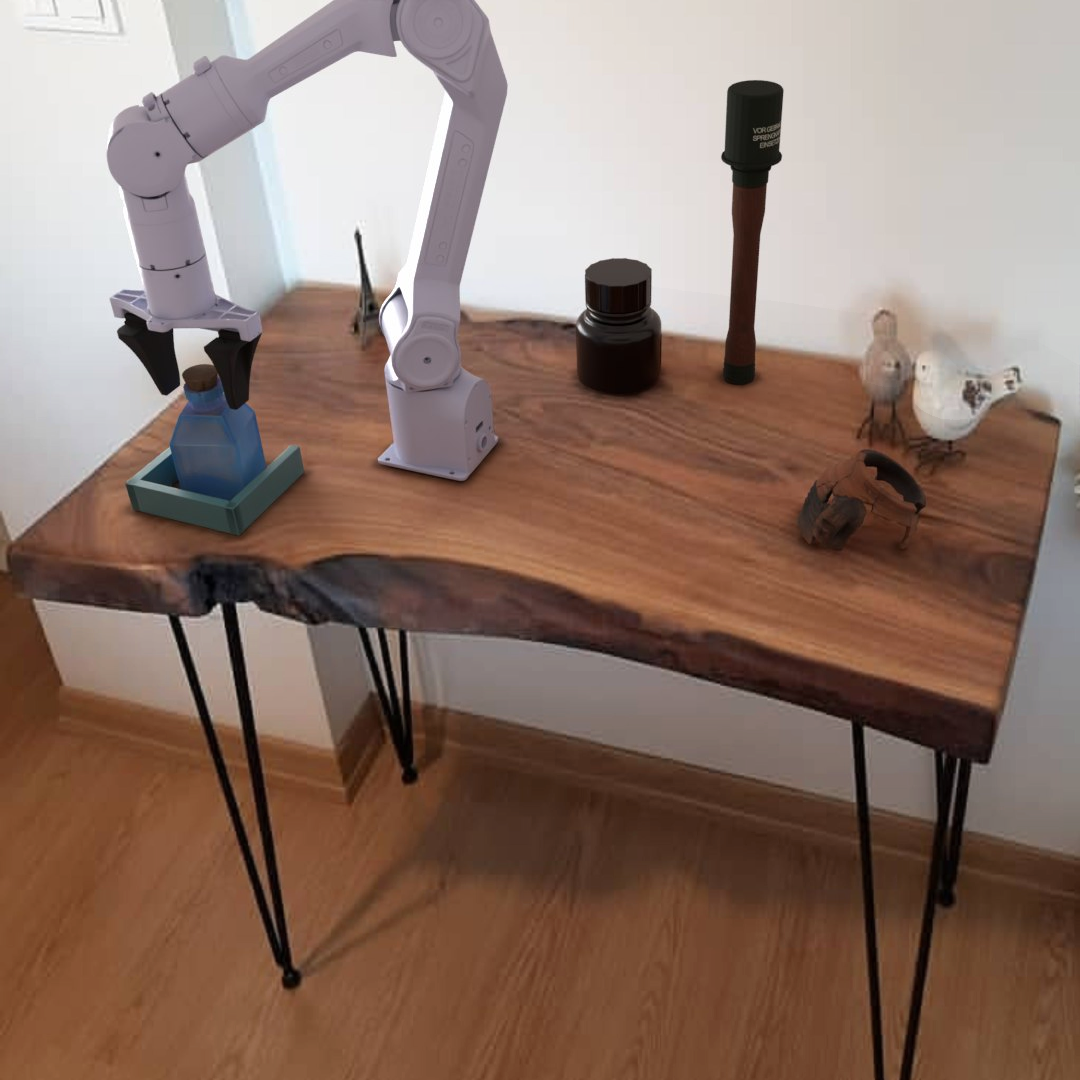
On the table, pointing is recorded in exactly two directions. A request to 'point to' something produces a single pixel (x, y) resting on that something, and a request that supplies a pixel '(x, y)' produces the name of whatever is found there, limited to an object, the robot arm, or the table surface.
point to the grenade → (748, 208)
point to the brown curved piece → (859, 500)
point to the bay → (227, 516)
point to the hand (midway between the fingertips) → (204, 397)
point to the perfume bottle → (214, 439)
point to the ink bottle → (618, 329)
